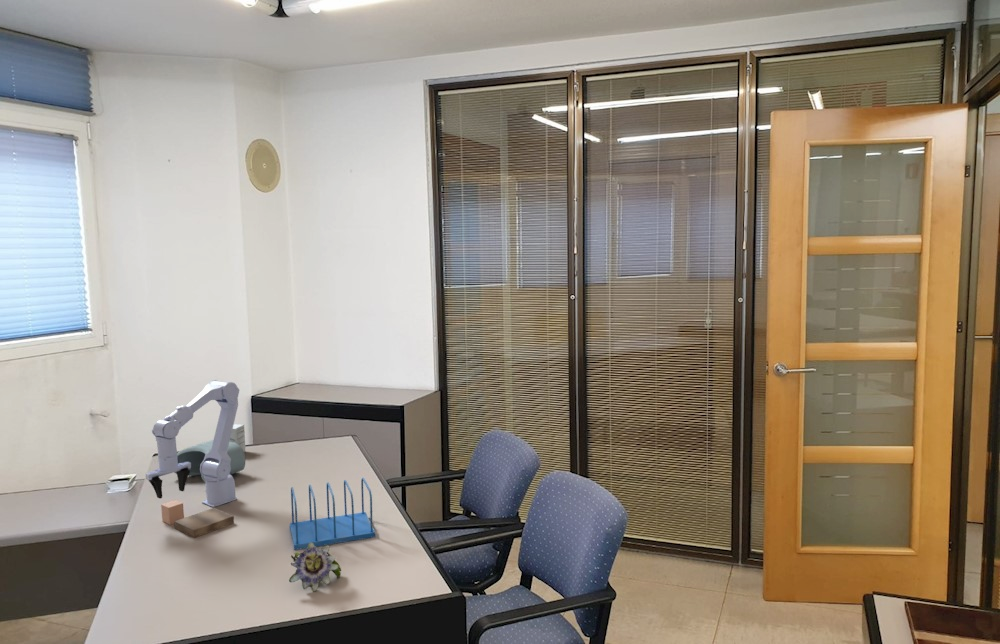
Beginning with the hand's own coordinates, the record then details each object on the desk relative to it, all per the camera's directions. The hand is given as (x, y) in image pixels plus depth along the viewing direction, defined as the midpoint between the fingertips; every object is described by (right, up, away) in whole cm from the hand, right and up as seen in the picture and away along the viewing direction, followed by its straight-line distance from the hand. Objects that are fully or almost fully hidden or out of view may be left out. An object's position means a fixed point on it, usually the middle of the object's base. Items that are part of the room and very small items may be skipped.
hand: (170, 494), depth 235 cm
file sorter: (+57, -10, -10) cm, 59 cm away
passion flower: (+60, -14, -42) cm, 75 cm away
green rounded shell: (-5, -4, +43) cm, 44 cm away
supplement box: (-6, 0, +73) cm, 73 cm away
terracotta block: (0, -9, +1) cm, 9 cm away
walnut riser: (+13, -10, -4) cm, 17 cm away
